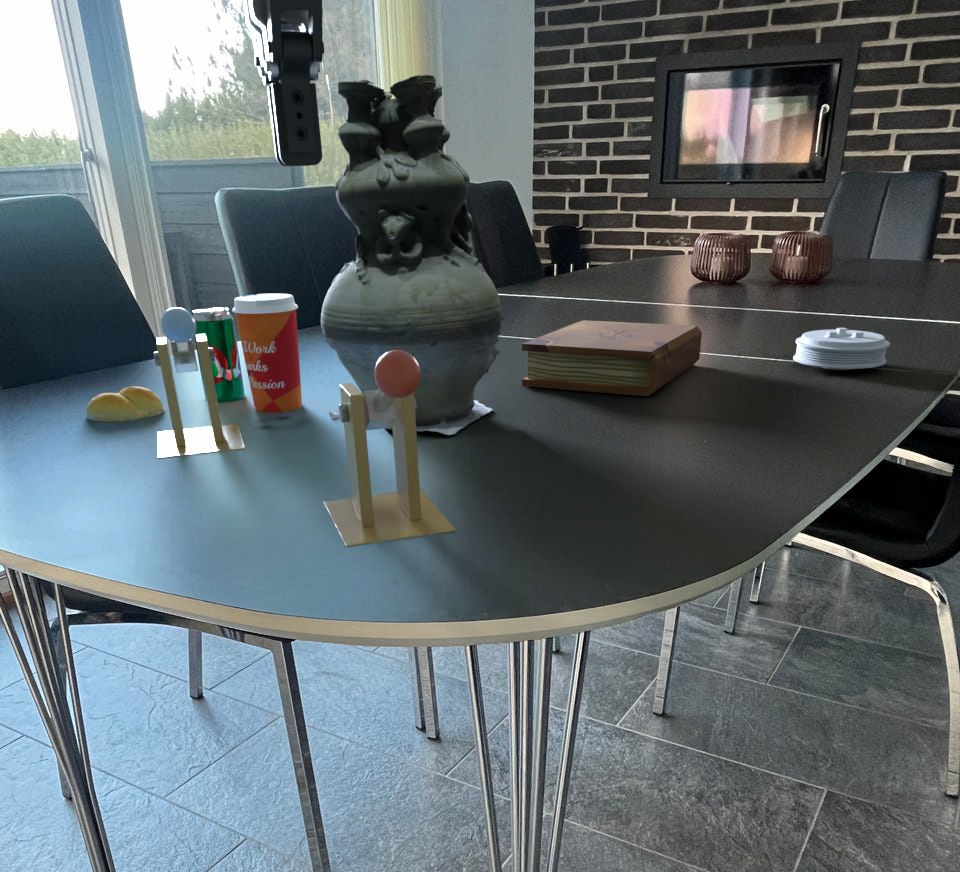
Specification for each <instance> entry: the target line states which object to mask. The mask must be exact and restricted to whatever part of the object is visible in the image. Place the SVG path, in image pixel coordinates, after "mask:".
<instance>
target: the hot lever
mask: <svg viewBox="0 0 960 872" xmlns="http://www.w3.org/2000/svg"><path fill="white" fill-rule="evenodd" d="M374 376H375V381H376V384H377V386H378V387H379V389H378V390H371V391H364V393H363V403H364V414H365V426H366V431H374V430H384V428H391V427H392V426H393V424H394V422H395V421H396V419H397V416H396V410H395V404H394V400H395V398H404V397H407V396H409V395H410V394H412V393H413V392H414V391H415V390H416V389H417V387H418V385H419V382H420V378H421V372H420V367H419V364H418V363H417V361H416V359H415V358H414V357H413V356H412V355H411V354H409V353H407V352H405V351H402V350H392V351H389V352H387V353H385V354H383V355H382V356H381V357H380V358H379V360H378V361H377V363H376V366H375V371H374Z"/></svg>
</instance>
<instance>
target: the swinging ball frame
mask: <svg viewBox="0 0 960 872" xmlns="http://www.w3.org/2000/svg"><path fill="white" fill-rule="evenodd" d="M339 390H340V399H341V400H340V401H341V403H340V404H339V405H338V413H339V415H340V416H339V419H340V422H341V423H342V424H343V432H344V441H345V449H346V451H345V452H346V460H347V469H348V480H349V490H350V497H349V498H348V497H347V498H341V499H339V498H338V499H332V500H326V501H325V500H324V501H323V505H324V506H325V509H326V512H327V513H328V515H329V517H330V519H331V521H332V523H333V525H334V527H335V529H336V530H337V533H338V535H339V536H340V539H341V541H342V542H343V544H344V546H345V547H347V548H348V547H353V546H361V545H366V544H374V543H382V542H388V541H395V540H400V539H401V540H402V539H409V538H416V537H422V536H430V535H436V534H437V535H438V534H445V533H452V532H457V529H456V528H455V527H454V526H453V525H452V523H451V522H450V520H448V519H447V518H446V516H445V515H444V514H443V513H442V511H440V509H439V508H438V507H437V506H436V504H435V503H434V502H433V501H432V500H431V498H430V497H429V496H428V495H427V494H426V492H425V491H424V490H423V489H422V488H421V487H420V486H421V485H420V484H421V483H420V469H419V452H418V436H417V435H418V434H417V433H418V432H417V431H416V416H415V415H416V413H417V405H416V400H415V398H414V392H413V393H412V394H410V395H409V396H407V397H404V398H395V400H394V404H395V410H396V416H397V419H396V421H395V422H394V424H393V426H392V429H391V430H392V441H393V453H394V455H393V456H394V467H395V482H396V491H395V492H387V493H380V494H379V493H378V494H372V484H371V483H372V482H371V472H370V459H369V449H368V448H369V447H368V439H367V438H368V437H367V430H366V426H365V414H364V403H363V395H362V394H361V391H360V389H359V388H357V387H356V386H355V385H354V383H353V382H350V383H340V384H339Z"/></svg>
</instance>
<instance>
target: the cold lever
mask: <svg viewBox="0 0 960 872" xmlns="http://www.w3.org/2000/svg"><path fill="white" fill-rule="evenodd" d="M193 316H194V315H193V314H192V313H190V312H189V311H188V310H186V309H185V308H183V307H178V306H177V307H176V306H175V307H170V308H168V309H166V310H165V311H164V312H163V314H162V315H161V318H160V329H161V331H162V333H163V335H164V337H166V338H167V340H169V341H171V342H170V346H171V351H172V355H173V356H172V357H173V362H174V367H175V371H176V374H182V373H193V372H198V371H199V367H198V361H197V356H196V355H197V354H196V349H195V345H194V340H192V339H193V338H194V335H195V332H196V323H195V320H194V318H193Z"/></svg>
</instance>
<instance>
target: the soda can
mask: <svg viewBox="0 0 960 872" xmlns="http://www.w3.org/2000/svg"><path fill="white" fill-rule="evenodd" d="M229 311H230V309H229V308H228V307H221V306H219V307H216V306H215V307H203V308H197V309H194V310H192V313H193V315H192V316H193V318H194V320H195V323H196V332H195V335H194V336H193V338H194V343H195V348H196V349H195V350H196V355H197V359H198V365H199V372H200V376H201V383H202V388H203V394H204V399H205V401H206V402H207V397H206V391H205V386H204V380H203V374H202V368H201V363H200V357H199V351H198V345H197V340H196V335H199V334H205V335H206V338H207V342H208V348H213V350H214V356H215V362H211V366H212V372H213V378H214V384H215V390H216V395H217V401H218V404H221V403H222V404H223V403H232V402H238V401H241V400H244V399H245V398H246V393H245V384H244V378H243V372H242V366H241V359H240V353H239V348H238V347H239V346H238V341H237V333H236V327H235V320H234V317H233V315H232V314H231V313H230V312H229Z"/></svg>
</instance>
